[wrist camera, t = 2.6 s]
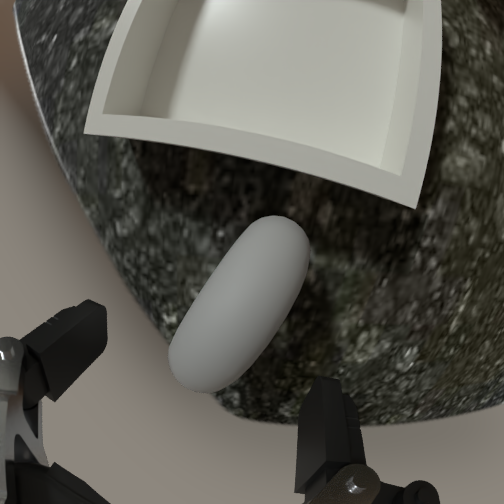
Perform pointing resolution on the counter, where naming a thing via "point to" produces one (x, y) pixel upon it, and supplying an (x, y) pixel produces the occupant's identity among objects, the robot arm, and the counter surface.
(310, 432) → the robot arm
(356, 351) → the counter surface
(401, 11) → the tray
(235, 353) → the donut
